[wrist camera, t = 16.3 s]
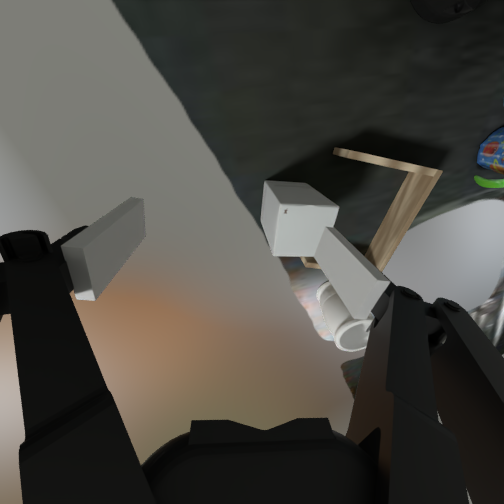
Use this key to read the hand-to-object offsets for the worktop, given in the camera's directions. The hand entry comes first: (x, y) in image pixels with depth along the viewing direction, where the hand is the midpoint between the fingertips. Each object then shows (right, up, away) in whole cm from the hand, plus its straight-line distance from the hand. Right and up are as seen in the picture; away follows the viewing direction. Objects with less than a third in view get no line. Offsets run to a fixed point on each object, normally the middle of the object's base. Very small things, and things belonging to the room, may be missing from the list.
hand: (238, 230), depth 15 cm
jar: (+23, -12, +44) cm, 51 cm away
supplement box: (+7, +9, +29) cm, 32 cm away
